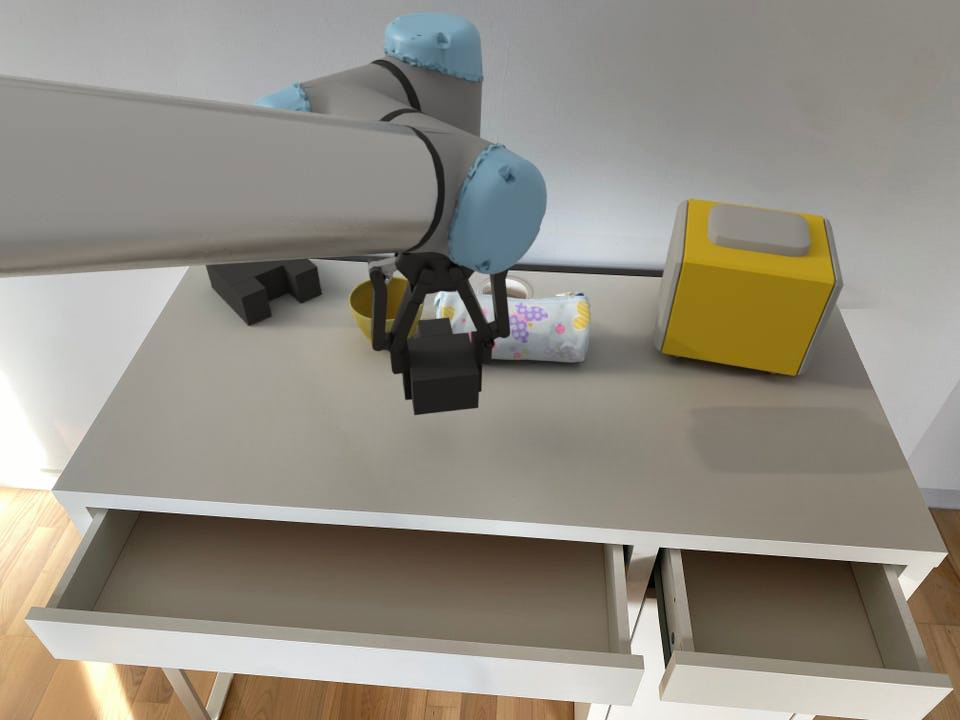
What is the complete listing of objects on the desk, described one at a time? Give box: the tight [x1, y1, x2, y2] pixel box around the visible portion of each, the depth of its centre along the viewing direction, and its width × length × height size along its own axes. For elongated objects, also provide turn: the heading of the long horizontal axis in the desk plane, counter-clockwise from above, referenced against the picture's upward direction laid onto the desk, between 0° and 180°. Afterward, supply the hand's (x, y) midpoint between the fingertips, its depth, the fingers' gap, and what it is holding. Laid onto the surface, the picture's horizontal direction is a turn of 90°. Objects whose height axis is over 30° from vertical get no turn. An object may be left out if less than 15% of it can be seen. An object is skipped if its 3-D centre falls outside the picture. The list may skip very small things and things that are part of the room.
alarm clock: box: [653, 198, 844, 377], centre depth 95 cm, size 20×16×18 cm
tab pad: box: [407, 318, 480, 416], centre depth 79 cm, size 7×10×5 cm
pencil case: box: [433, 291, 592, 363], centre depth 95 cm, size 21×9×10 cm, turn 89°
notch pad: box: [205, 258, 323, 327], centre depth 106 cm, size 12×12×5 cm
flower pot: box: [348, 275, 425, 344], centre depth 98 cm, size 10×10×7 cm
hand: (442, 387), depth 80 cm, fingers closed on tab pad, 7 cm apart
